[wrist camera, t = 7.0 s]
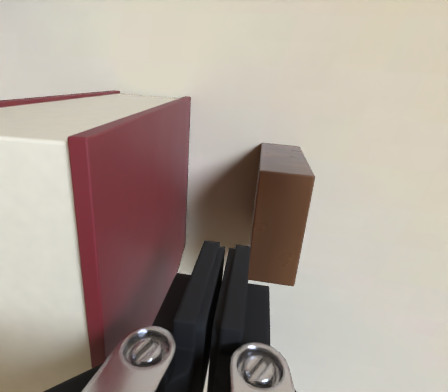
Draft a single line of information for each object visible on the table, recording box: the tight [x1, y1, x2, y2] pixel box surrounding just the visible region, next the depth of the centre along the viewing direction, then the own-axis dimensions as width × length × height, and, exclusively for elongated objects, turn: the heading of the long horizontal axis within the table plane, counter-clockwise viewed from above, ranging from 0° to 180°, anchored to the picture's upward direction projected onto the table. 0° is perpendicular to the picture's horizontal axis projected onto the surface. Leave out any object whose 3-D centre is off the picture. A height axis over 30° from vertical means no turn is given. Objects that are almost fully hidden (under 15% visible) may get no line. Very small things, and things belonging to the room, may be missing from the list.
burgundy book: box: [0, 91, 191, 392], centre depth 15 cm, size 15×11×5 cm
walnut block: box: [248, 143, 315, 286], centre depth 18 cm, size 2×6×7 cm, turn 175°
